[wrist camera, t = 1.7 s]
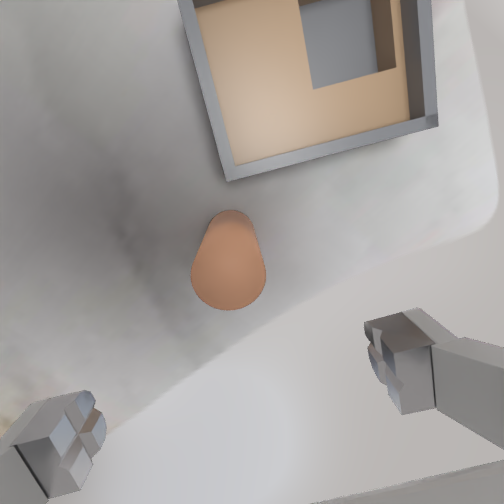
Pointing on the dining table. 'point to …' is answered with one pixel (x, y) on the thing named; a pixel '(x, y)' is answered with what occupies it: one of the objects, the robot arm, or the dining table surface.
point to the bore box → (310, 76)
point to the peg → (229, 263)
